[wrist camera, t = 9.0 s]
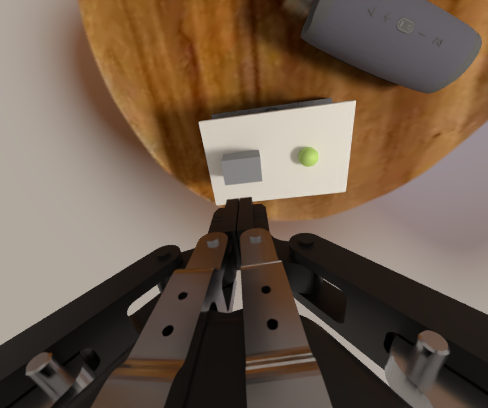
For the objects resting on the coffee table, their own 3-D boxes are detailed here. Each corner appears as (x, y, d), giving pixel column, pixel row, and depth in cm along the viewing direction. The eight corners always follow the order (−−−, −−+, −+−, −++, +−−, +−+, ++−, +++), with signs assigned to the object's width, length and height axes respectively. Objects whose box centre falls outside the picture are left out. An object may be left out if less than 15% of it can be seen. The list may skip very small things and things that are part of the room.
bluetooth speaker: (441, 38, 35) (508, 16, 26) (405, 97, 39) (452, 96, 30) (319, -22, 32) (346, -69, 23) (293, 49, 36) (308, 32, 27)
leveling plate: (201, 120, 35) (192, 125, 29) (348, 100, 33) (369, 101, 27) (218, 199, 42) (213, 216, 36) (340, 186, 40) (355, 201, 35)
